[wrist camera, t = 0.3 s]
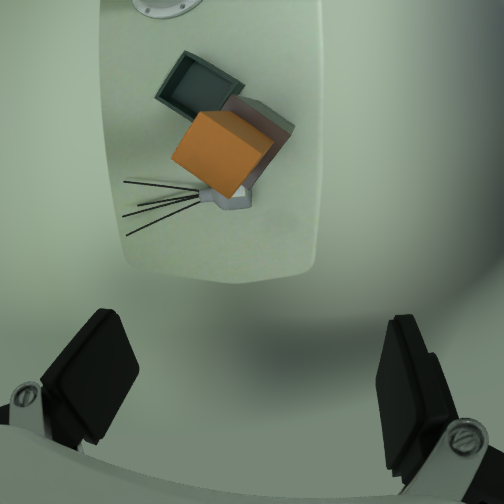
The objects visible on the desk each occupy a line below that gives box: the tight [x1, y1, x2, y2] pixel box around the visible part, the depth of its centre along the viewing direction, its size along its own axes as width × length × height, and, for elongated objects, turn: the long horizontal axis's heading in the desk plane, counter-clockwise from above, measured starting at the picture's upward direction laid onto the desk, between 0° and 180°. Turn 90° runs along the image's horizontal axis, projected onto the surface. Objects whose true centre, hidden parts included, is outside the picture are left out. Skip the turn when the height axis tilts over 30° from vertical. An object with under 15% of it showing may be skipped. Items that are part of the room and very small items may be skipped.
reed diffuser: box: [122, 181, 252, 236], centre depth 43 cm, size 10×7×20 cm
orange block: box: [171, 111, 274, 199], centre depth 21 cm, size 4×4×8 cm
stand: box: [220, 94, 295, 190], centre depth 32 cm, size 6×6×17 cm
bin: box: [154, 51, 245, 122], centre depth 37 cm, size 8×8×4 cm
